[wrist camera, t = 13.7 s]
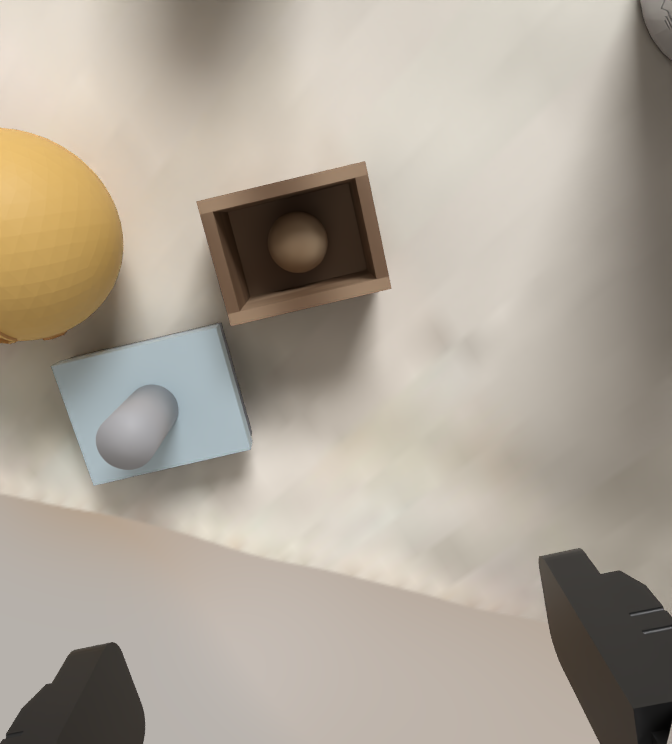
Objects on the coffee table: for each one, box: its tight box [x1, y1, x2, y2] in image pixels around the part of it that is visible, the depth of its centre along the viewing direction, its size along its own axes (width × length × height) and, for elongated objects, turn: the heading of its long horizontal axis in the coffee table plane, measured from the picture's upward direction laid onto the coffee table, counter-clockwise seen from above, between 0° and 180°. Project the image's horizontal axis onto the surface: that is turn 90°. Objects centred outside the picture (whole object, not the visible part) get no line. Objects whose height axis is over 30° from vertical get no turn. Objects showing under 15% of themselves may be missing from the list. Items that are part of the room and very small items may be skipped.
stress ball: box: [0, 128, 123, 344], centre depth 30 cm, size 10×10×10 cm
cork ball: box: [268, 212, 328, 273], centre depth 33 cm, size 3×3×3 cm
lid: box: [51, 324, 252, 486], centre depth 33 cm, size 9×7×7 cm
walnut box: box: [197, 161, 391, 326], centre depth 32 cm, size 8×6×6 cm
